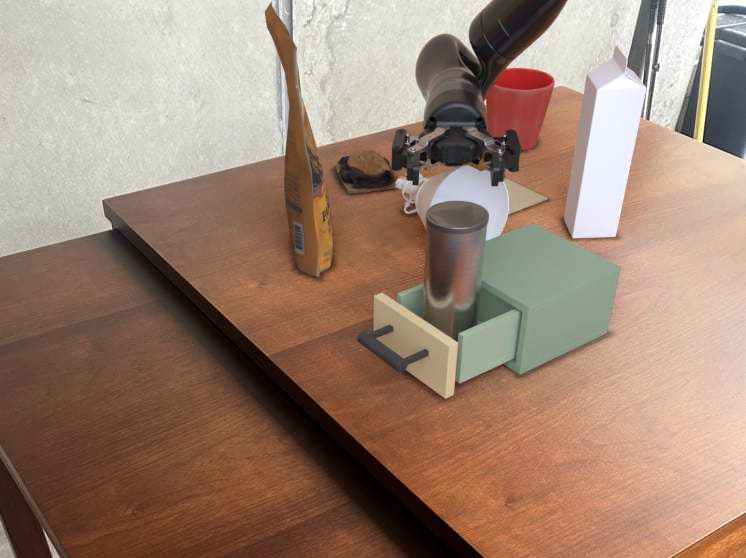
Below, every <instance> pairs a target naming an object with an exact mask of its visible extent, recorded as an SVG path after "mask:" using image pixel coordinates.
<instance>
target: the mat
mask: <svg viewBox="0 0 746 558" xmlns="http://www.w3.org/2000/svg"><path fill="white" fill-rule="evenodd" d="M504 183H505V185H506V188H507V191H508V197H509V212H508V215H510V214H511V215H512V214H513V213H516V212H519V211H521V210H525V209H526V208H530V207H532V206H534V205H537V204H540V203H542V202H546V201H548V200H549V199H548V197H547V196H545V195H543V194H540V193H538V192H536V191H534V190H532V189H530V188H528V187H525V186H523V185H522V184H520V183H517V182H515V181H513V180H511V179H508V178H506V177H505V179H504Z"/></svg>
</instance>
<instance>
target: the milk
mask: <svg viewBox="0 0 746 558" xmlns="http://www.w3.org/2000/svg"><path fill="white" fill-rule="evenodd" d="M628 60H629V59H628V57H627V56H626V55H625V54H624V53H623V51H622V50H621V48H620V47H619V46H618V45H617V44H615V46H614V48H613V54H612V57H611V58H609V59H608V60H607V61H605V62H604V63H602V64H600V65H599V66H596V67H595V68H594V69H592V70H591V71H589V72H587V73H586V76H585V77H586V78H585V85H584V90H583V95H582V100H581V101H582V102H581V107H580V108H581V109H580V114H579V119H578V120H579V121H578V126H577V133H576V134H577V135H576V139H575V146H574V151H573V152H574V153H573V158H572V165H571V170H570V177H569V182H568V189H567V195H566V202H565V207H564V214H563V221H564V223H565V225H566V227H567V229H568V232H569V234H570V237H571V238H572V239H596V238H597V239H599V238H600V239H601V238H615V237H617V233H618V229H619V224H620V223H619V222H620V220H621V219H620V218H621V215H622V214H621V213H622V209H623V204H624V199H625V194H626V189H627V186H628V185H627V184H628V179H629V175H630V172H631V171H630V170H631V165H632V161H633V155H634V151H635V146H636V141H637V138H638V137H637V136H638V132H639V126H640V121H641V117H642V114H643V113H642V112H643V108H644V103H645V98H646V94H647V89H648V88H647V87H646V85H645V84H644V83H643V82H642V80H641V79H640V77H639V76H638V75H637V73H635V71H634V70H633V69H631V68H629V67H628Z"/></svg>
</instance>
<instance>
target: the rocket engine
mask: <svg viewBox="0 0 746 558" xmlns="http://www.w3.org/2000/svg"><path fill="white" fill-rule="evenodd" d="M406 174H407V171H406V172H405V174H404V175H405V176H403V175H401V176H400V177H398V178H397V179H396V180H395V183H396V185H397V187H396V188H395V189H399V190H401V195H402V196H401V197H402V198H403V199H404V200H405V202H404V207H403V211H404V213H405V214H406V215H410V214H414V213H416V214H417V215H418V217H419V218H420V220H421V223H422V224H423V227H424V229H425V230H426V212H427V210H428V209H429V208H430V207H431V206H433V205H435V204H437V203H441V202H445V201H468V202H472V203H476V204H478V205H481V206H482V207H484V208H485V209H486V210H487V211H488V213H489V221H488V224H487V232H486V241H487V240H490V239H492V238H495V237H497V236H500V235H502V233H503V231H504V229H505V226H506V223H507V222H508V217H509V214H508V212H509V197H508V191H507V188H506V185H505V183H504V181H503V182H498V186H491V176H490V171H488V170H484V171H479V170H477V169H475V168H473V167H471V166H469V165H466V166H465V165H463V166H459V167H450V168H449V169H447V170H444V171H442V172H440V173H437V174H436V175H434V176H430V177H424V176H423V174H421V173H420V172H419V185H412V184H413V181H408V180H407V179H406ZM405 194H407V195H409V198H407V197H406V196H405ZM411 204H415V205H414V206H415V209H412V210H410V211H408V210H407V209H408V208H410V207H411Z"/></svg>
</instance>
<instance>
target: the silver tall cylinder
mask: <svg viewBox="0 0 746 558" xmlns="http://www.w3.org/2000/svg"><path fill="white" fill-rule="evenodd" d="M488 221H489V213H488V211H487V210H486V209H485V208H484V207H482V206H481V205H478V204H476V203H472V202H468V201H445V202H441V203H437V204H435V205H433V206H431V207H430V208H429V209H428V210H427V212H426V229H425V246H424V264H423V265H424V266H423V271H424V272H423V283H424V287H423V310H422V319H423V320H425V321H426V322H428V323H429V324H431V325H432V326H434V327H435V328H437V329H438V330H440V331H441V332H443V333H444V334H446V335H447V336H449V337H450V338H452V339H453V340H455V341H456V342H458V334H459V333H461V332H463V331H465V330H467V329H470V328H472V327H474V326H477V325H478V314H479V304H480V294H481V283H482V273H483V263H484V252H485V242H486V232H487V224H488Z"/></svg>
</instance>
